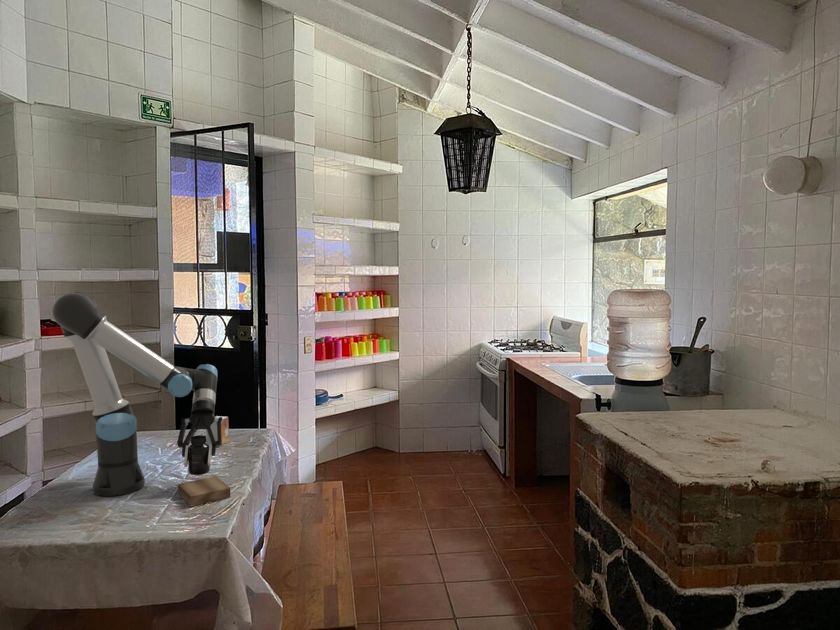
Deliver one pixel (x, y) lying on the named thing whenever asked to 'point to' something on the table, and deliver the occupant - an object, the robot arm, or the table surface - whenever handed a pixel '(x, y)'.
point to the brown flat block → (204, 490)
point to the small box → (223, 431)
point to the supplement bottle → (198, 456)
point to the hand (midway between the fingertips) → (197, 464)
